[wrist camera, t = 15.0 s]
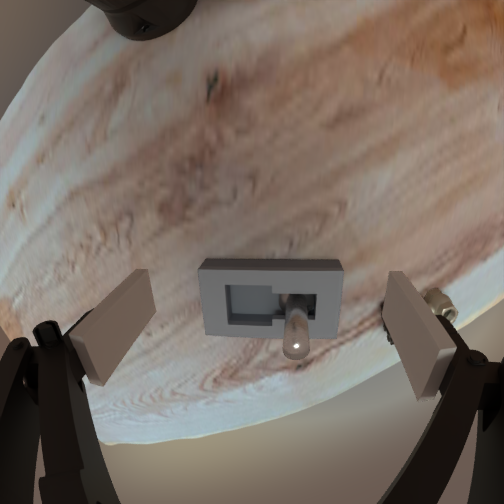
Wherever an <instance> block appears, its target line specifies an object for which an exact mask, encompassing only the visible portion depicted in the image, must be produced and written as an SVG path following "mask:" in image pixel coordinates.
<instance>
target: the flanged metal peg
mask: <svg viewBox="0 0 504 504" xmlns="http://www.w3.org/2000/svg"><path fill="white" fill-rule="evenodd" d="M313 305H314V294H279V306H280V308H281V310H282V311H283V312H284V313H285V326H284V339H283V353H284V355H285V356H286V357H287V358H289V359H292V360H300V359H303V358H305V357H306V356H307V355H308V354H309V351H310V346H309V328H308V312H309V311H310V310H311V309H312V307H313Z"/></svg>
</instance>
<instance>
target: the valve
mask: <svg viewBox="0 0 504 504" xmlns="http://www.w3.org/2000/svg"><path fill="white" fill-rule="evenodd" d="M424 300H425V302H426V303H427V305H428V306H429V307H430V309H431V310H432V311H433V313H434V314H435V315H440V314H441V315H442V316H444V317H445V318H447V319H448V320H449V321H450V322H451V324H452V323H454V321H455V319H456V318H457V315H458V311H457V309H456V308H455V307H454V305H453V304H452V301H451V299H450V298H449V297H448V296H447V295H446V294H442V292H441V291H440V290H439V289H438V288H435V289H433V290H430V291H428V292H427V295H426V297H425V299H424ZM383 306H384V305H381V310H382V311H383ZM381 317H382V313H381ZM382 319H383V318H382ZM383 327H384V331H386V332H387V340H388V342H390V344H391V345H393V344H394V342H393V340H392V338H391V335H390V333H389V331H388V329H387V327H386V324H385V322H384V326H383Z"/></svg>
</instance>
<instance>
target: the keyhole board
mask: <svg viewBox="0 0 504 504" xmlns="http://www.w3.org/2000/svg"><path fill="white" fill-rule="evenodd" d="M343 275H344V270H343V268H342V266H341V263H340V261H339V260H287V259H205V261H204V262H203V263H202V264H201V266H200V267H199V268H198V277H199V286H200V295H201V303H202V311H203V319H204V327H205V334H206V335H213V336H228V337H248V338H278V339H284V326H285V313H284V312H283V311H282V310H281V308H280V306H279V294H314V305H313V307H312V309H311V310H310V311H309V312H308V328H309V339H337V331H338V323H339V315H340V306H341V296H342V286H343Z"/></svg>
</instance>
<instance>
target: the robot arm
mask: <svg viewBox="0 0 504 504" xmlns="http://www.w3.org/2000/svg"><path fill="white" fill-rule="evenodd" d="M85 1H87V2H89V3H90V4H92V5H94V6H96V7H97V8H99V9H101V10H102V11H104V13H105V15H106V16H107V18H108V20H109V22H110V24H111V26H112V27H113V29H114V30H115V31H116V32H118V33H119V34H121V35H122V36H124V37H126V38H128V39H131V40H149V39H153V38H156V37H159V36H161V35H164V34H166V33H168V32H169V31H171V30H173V29H174V28H175V27H177V26H178V25H179V24H181V23H182V22H183V21H184V20H185V19H186V18H187V17H188V16H189V14H190V13H191V12H192V10H193V9H194V7H195V5H196V2H197V0H85ZM155 313H156V308H155V303H154V299H153V294H152V289H151V284H150V279H149V273H148V269H136V270H135V271H134V272H133V273H131V274H130V275H129V276H128V277H127V278H126V279H125V280H124V281H123V282H122V283H121V284H120V285H119V286H117V287H116V288H115V289H114V290H113V291H112V292H111V293H110V294H109V295H108V296H107V297H106V298H105V299H104V300H103V301H102V302H101V303H100V304H98V305H97V306H96V307H95V308H93V309H92V310H90V311H88V312H86V313H85V314H84V315H83V316H82V317H81V318H80V319H79V320H78V321H77V322H76V324H74V325H73V326H72V327H71V328H70V329H69V330H68V331H67V332H66V333H65V334H64V335H63V336H62V334H61V331H60V328H59V326H58V323H57V322H56V321H52V320H49V321H45V322H42V323H40V324H38V325H37V326H36V327H35V328H34V329H33V334H34V336H35V339H36V341H37V343H38V345H39V346H31V344H30V342H29V340H28V339H27V338H25V337H20V338H16V339H14V340H13V341H12V342H11V343H10V344H9V345H8V346H7V348H6V351H5V353H4V354H3V356H2V358H1V361H0V504H33V495H34V480H35V469H36V460H37V452H38V445H39V438H40V435H41V445H42V452H43V460H44V466H45V473H46V475H45V477H40V479H39V490H40V495H41V500H42V504H121V503H120V501H119V499H118V496H117V494H116V491H115V489H114V487H113V484H112V481H111V478H110V476H109V473H108V470H107V467H106V464H105V461H104V458H103V455H102V452H101V449H100V445H99V442H98V439H97V435H96V431H95V428H94V424H93V420H92V416H91V412H90V408H89V403H88V399H87V394H86V389H85V384H84V382H83V380H82V378H83V376H84V375H85V374H86V375H87V377H88V379H89V381H90V383H92V384H95V385H99V386H104V385H105V383H106V382H107V380H108V379H109V378H110V376H111V375H112V373H113V372H114V370H115V369H116V367H117V366H118V364H119V363H120V362H121V360H122V359H123V357H124V356H125V354H126V353H127V352H128V350H129V349H130V347H131V346H132V345H133V343H134V342H135V340H136V339H137V337H138V336H139V335H140V333H141V332H142V330H143V329H144V328H145V326H146V325H147V324H148V322H149V321H150V319H151V318H152V317H153V315H154V314H155ZM382 318H383V320H384V322H385V324H386V327H387V329H388V331H389V333H390V335H391V338H392V340H393V342H394V345H395V347H396V349H397V351H398V354H399V356H400V359H401V361H402V363H403V366H404V368H405V370H406V373H407V376H408V378H409V381H410V383H411V386H412V388H413V391H414V393H415V395H416V398H417V401H418V402H421V401H428V400H433V399H434V398H435V396H436V394H437V392H438V390H440V393H441V395H442V397H441V399H440V401H439V403H438V405H437V406H436V408H435V410H434V412H433V415H432V417H431V419H430V421H429V423H428V425H427V427H426V429H425V430H424V432H423V434H422V436H421V438H420V439H419V441H418V443H417V445H416V447H415V448H414V450H413V452H412V453H411V455H410V456H409V458H408V460H407V461H406V463H405V465H404V466H403V468H402V469H401V471H400V472H399V474H398V475H397V477H396V478H395V480H394V481H393V482H392V484H391V485H390V487H389V488H388V489H387V491H386V492H385V494H384V495H383V496H382V497H381V499H380V500H379V501H378V503H377V504H437V503H438V501H439V499H440V497H441V495H442V493H443V491H444V489H445V488H446V486H447V484H448V482H449V480H450V477H451V475H452V473H453V471H454V469H455V467H456V464H457V462H458V460H459V457H460V455H461V453H462V450H463V448H464V445H465V443H466V440H467V437H468V435H469V432H470V429H471V426H472V424H473V421H474V417H475V414H476V411H477V410H478V427H477V442H476V453H475V462H474V469H473V476H472V482H471V487H470V493H469V498H468V502H467V504H504V357H503V359H502V361H501V363H500V362H488V359H487V357H486V356H485V355H484V354H483V353H481V352H479V351H476V350H470V349H469V348H468V346H467V345H466V343H465V342H464V340H463V339H462V338H461V336H460V335H459V334H458V333H457V331H456V329H455V328H454V326H453V325H452V324H451V322H450V321H449V320H448V319H447V318H445V317H444V316H442V315H441V314H440V315H435V314H434V313H433V311H432V310H431V309H430V307H429V306H428V305H427V303H426V302H425V300H424V299H423V298H422V296H421V295H420V294H419V292H418V291H417V290H416V288H415V287H414V286H413V285H412V283H411V282H410V281H409V279H408V278H407V277H406V276H405V274H404V273H403V272H402V271H389V276H388V283H387V289H386V295H385V300H384V306H383V311H382ZM23 381H24V382H25V384H23Z"/></svg>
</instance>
